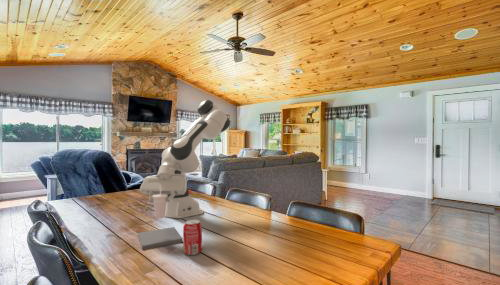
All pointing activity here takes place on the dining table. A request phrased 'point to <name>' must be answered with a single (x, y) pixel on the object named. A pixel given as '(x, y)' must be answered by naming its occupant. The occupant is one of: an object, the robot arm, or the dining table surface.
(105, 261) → the dining table surface
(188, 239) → the soda can
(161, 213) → the smoothie
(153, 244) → the gray square slab
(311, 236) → the dining table surface
